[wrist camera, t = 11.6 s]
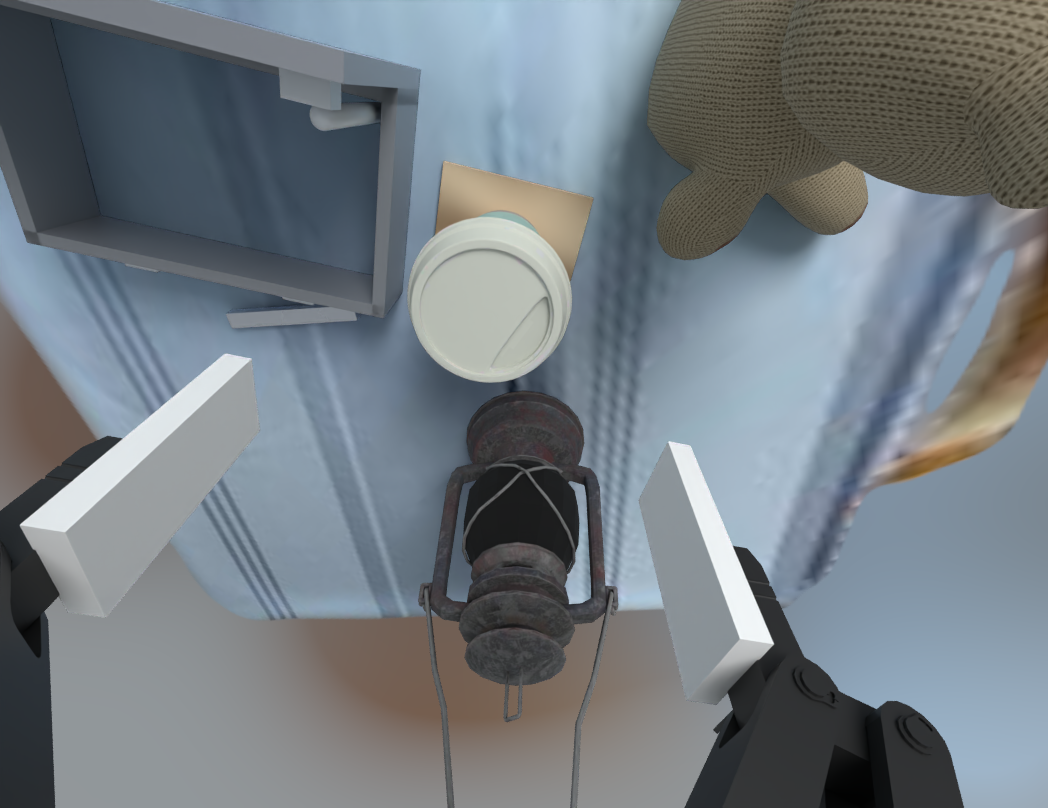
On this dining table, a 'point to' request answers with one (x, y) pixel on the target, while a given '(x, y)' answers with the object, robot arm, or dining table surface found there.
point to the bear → (845, 108)
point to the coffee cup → (489, 297)
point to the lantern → (520, 551)
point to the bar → (288, 315)
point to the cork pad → (515, 206)
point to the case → (302, 65)
